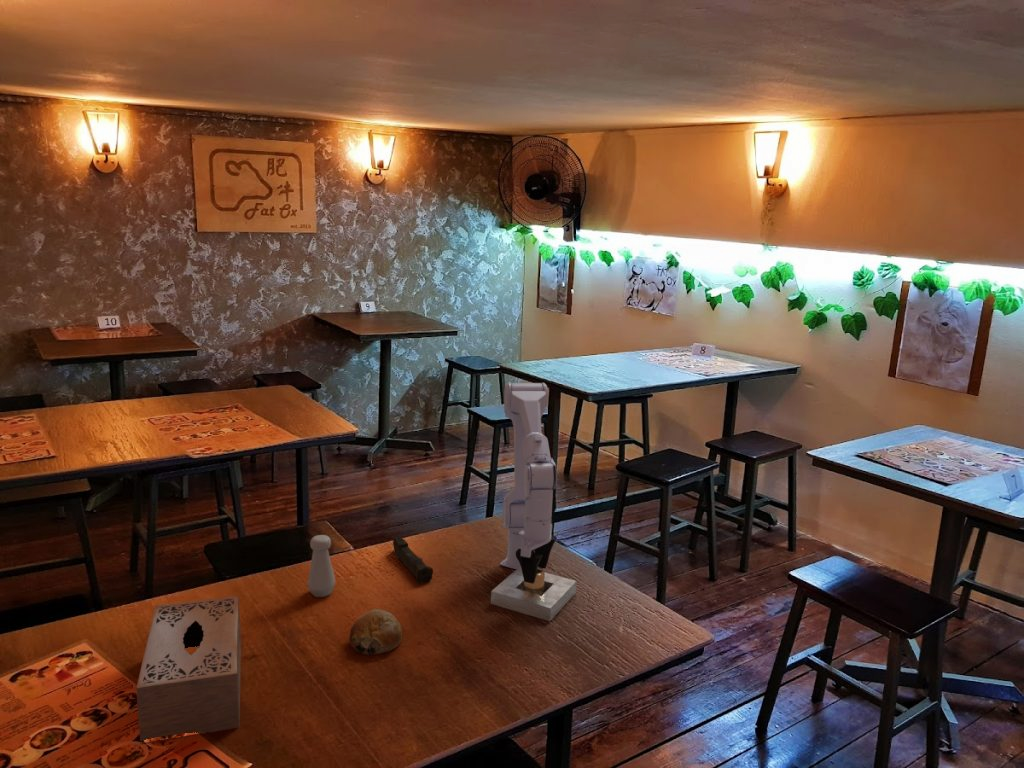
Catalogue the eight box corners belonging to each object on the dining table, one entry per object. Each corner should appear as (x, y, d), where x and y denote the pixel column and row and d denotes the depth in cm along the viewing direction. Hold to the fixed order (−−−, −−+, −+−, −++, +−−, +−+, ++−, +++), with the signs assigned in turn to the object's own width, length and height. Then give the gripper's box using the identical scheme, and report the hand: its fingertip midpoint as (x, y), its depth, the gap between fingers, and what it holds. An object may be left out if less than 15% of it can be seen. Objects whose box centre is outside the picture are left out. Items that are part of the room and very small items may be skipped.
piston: (526, 592, 169) (527, 567, 167) (545, 595, 167) (546, 570, 166) (520, 601, 165) (522, 575, 163) (540, 604, 163) (541, 579, 162)
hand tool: (433, 582, 172) (433, 563, 171) (417, 585, 170) (417, 566, 169) (405, 549, 188) (405, 532, 187) (389, 552, 186) (390, 534, 185)
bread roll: (404, 663, 147) (419, 623, 148) (365, 661, 139) (380, 619, 140) (373, 642, 153) (387, 604, 154) (334, 640, 146) (349, 600, 146)
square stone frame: (520, 577, 175) (520, 565, 174) (575, 593, 169) (576, 580, 168) (491, 603, 163) (491, 591, 162) (549, 621, 157) (550, 608, 156)
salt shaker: (340, 591, 166) (340, 536, 163) (321, 602, 161) (320, 545, 158) (321, 583, 169) (321, 529, 166) (302, 594, 164) (300, 538, 161)
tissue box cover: (158, 654, 140) (155, 605, 138) (241, 643, 145) (239, 595, 143) (140, 745, 117) (136, 688, 114) (239, 728, 121) (237, 673, 119)
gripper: (532, 501, 170) (529, 557, 173) (508, 525, 157) (505, 584, 160) (562, 507, 167) (558, 563, 170) (540, 531, 154) (537, 592, 157)
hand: (535, 574), depth 165 cm, fingers open, 7 cm apart
